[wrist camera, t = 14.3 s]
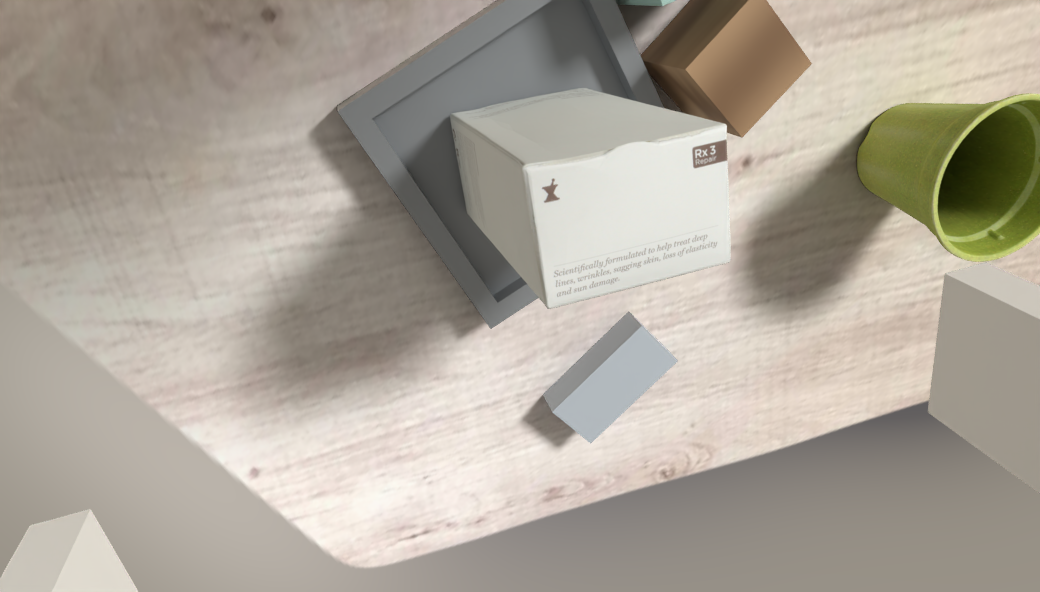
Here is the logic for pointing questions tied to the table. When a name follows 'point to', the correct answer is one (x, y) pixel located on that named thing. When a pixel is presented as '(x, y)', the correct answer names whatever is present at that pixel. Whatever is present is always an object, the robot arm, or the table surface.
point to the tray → (476, 84)
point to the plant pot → (961, 171)
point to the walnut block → (726, 61)
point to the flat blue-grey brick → (609, 378)
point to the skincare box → (595, 191)
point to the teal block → (644, 2)
